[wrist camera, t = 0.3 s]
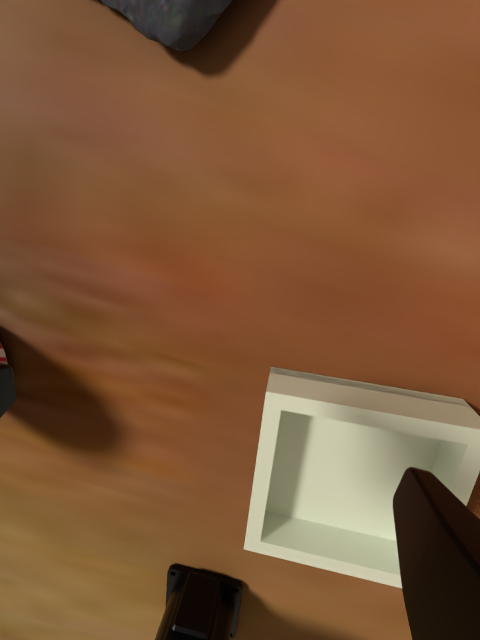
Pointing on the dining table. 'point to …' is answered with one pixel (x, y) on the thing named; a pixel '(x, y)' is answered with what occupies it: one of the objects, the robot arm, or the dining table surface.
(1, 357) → the soda can
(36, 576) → the dining table surface
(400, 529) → the robot arm
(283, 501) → the bin
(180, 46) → the dark slate chunk
